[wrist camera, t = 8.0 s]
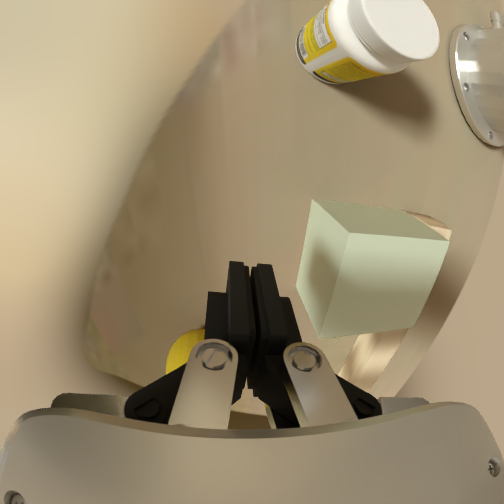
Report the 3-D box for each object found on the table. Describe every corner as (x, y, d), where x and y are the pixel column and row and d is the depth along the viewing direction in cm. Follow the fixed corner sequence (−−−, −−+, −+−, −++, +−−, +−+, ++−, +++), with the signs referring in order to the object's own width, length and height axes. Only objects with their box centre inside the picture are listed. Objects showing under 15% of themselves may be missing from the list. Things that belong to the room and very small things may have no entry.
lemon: (248, 322, 22) (261, 404, 15) (218, 361, 24) (222, 436, 17) (186, 299, 20) (176, 383, 13) (162, 342, 22) (151, 420, 15)
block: (311, 198, 18) (349, 232, 13) (401, 209, 19) (450, 241, 14) (295, 285, 21) (318, 338, 16) (378, 284, 22) (413, 327, 17)
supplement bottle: (373, 64, 14) (460, 49, 6) (327, 98, 15) (407, 89, 7) (329, 11, 12) (397, -37, 4) (278, 42, 13) (327, -12, 6)
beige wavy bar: (406, 211, 19) (429, 225, 17) (430, 216, 20) (452, 230, 17) (336, 378, 28) (344, 398, 25) (357, 375, 28) (366, 394, 26)
